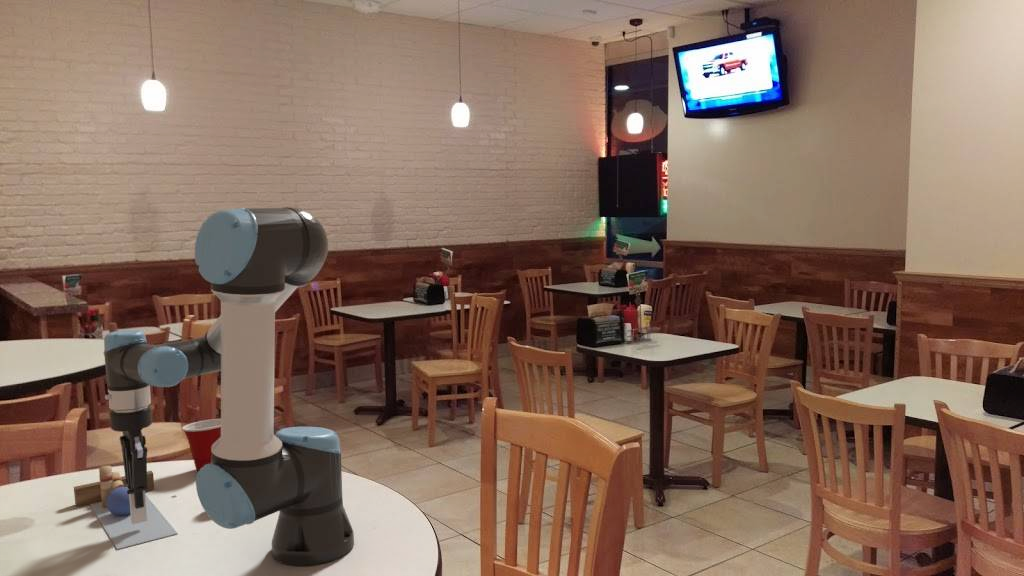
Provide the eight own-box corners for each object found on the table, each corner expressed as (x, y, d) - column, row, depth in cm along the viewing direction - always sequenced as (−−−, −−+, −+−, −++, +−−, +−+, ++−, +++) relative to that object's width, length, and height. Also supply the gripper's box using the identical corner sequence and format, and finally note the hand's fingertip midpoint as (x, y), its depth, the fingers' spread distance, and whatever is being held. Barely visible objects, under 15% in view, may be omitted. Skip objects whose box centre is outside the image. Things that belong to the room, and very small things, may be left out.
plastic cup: (215, 459, 202) (212, 414, 201) (240, 467, 196) (237, 420, 195) (176, 471, 194) (172, 424, 192) (201, 480, 187) (198, 431, 186)
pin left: (115, 507, 171) (112, 467, 170) (103, 510, 170) (99, 470, 169) (113, 503, 173) (110, 464, 172) (101, 506, 172) (97, 467, 171)
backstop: (154, 489, 182) (153, 472, 181) (76, 506, 172) (75, 489, 172) (152, 487, 183) (151, 470, 183) (75, 504, 174) (73, 486, 173)
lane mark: (177, 534, 157) (177, 533, 156) (117, 549, 150) (117, 548, 150) (143, 493, 179) (143, 492, 179) (90, 505, 173) (90, 504, 173)
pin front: (129, 498, 171) (119, 470, 176) (117, 501, 169) (107, 473, 175) (130, 506, 172) (119, 478, 178) (117, 509, 170) (107, 481, 176)
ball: (134, 499, 172) (143, 514, 168) (105, 510, 168) (113, 525, 164) (130, 477, 169) (139, 491, 165) (100, 488, 166) (109, 502, 162)
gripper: (103, 404, 159) (112, 516, 161) (116, 418, 149) (125, 537, 151) (143, 398, 163) (151, 507, 166) (158, 410, 153) (167, 526, 156)
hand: (139, 521), depth 159 cm, fingers closed
